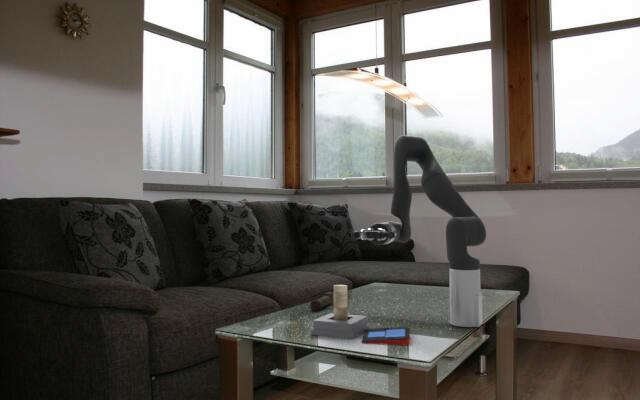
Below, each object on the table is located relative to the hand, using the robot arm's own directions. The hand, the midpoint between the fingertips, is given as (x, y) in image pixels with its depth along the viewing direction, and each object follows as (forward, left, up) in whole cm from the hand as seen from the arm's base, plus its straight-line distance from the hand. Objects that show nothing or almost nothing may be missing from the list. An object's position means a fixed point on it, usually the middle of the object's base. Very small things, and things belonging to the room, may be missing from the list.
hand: (366, 235), depth 167 cm
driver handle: (+2, +15, -26) cm, 30 cm away
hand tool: (+25, -20, -28) cm, 43 cm away
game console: (-12, +16, -28) cm, 35 cm away
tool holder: (+2, +15, -28) cm, 32 cm away
